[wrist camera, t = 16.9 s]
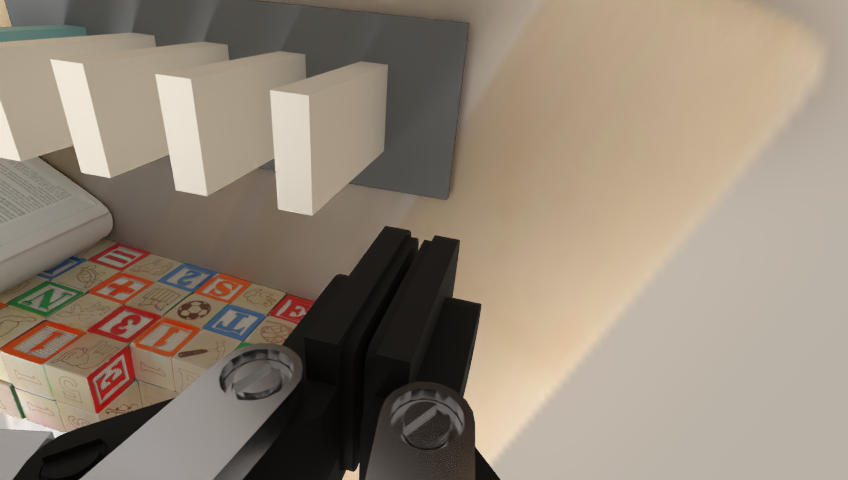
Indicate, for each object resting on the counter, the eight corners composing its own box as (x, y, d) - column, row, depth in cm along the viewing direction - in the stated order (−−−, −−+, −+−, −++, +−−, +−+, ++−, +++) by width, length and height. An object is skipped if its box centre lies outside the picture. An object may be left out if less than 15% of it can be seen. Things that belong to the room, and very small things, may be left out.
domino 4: (308, 138, 29) (207, 196, 21) (284, 135, 30) (175, 190, 21) (305, 54, 27) (190, 79, 18) (279, 51, 27) (155, 73, 19)
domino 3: (236, 127, 30) (110, 178, 22) (214, 124, 31) (81, 172, 22) (227, 44, 28) (82, 63, 19) (203, 41, 28) (49, 59, 19)
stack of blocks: (326, 301, 36) (233, 427, 25) (322, 361, 39) (236, 496, 28) (85, 232, 39) (-92, 319, 28) (98, 293, 42) (-57, 393, 31)
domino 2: (168, 116, 31) (20, 161, 22) (147, 113, 31) (-7, 156, 23) (154, 35, 29) (-17, 49, 20) (131, 32, 29) (-47, 45, 20)
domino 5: (384, 150, 29) (312, 215, 20) (359, 147, 29) (277, 209, 20) (387, 64, 26) (308, 95, 18) (360, 61, 26) (269, 90, 18)
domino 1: (104, 107, 32) (-62, 146, 23) (84, 104, 32) (-88, 141, 23) (85, 27, 30) (-108, 37, 21) (63, 24, 30) (-135, 33, 21)
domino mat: (448, 196, 30) (446, 200, 29) (51, 128, 35) (43, 130, 34) (469, 23, 25) (467, 23, 24) (5, -27, 30) (-4, -27, 29)
